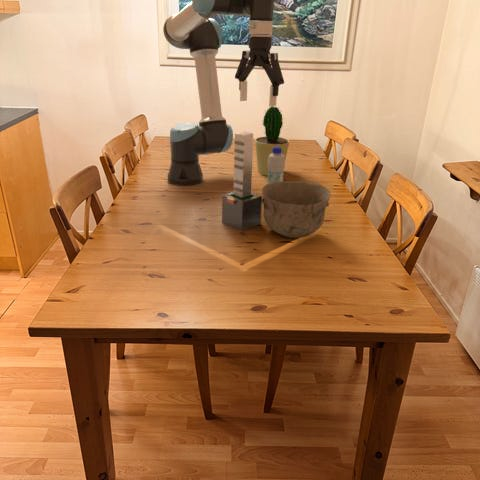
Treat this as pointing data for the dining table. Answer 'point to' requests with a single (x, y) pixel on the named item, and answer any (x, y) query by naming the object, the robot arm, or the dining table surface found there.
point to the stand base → (241, 211)
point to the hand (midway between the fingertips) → (257, 103)
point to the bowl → (295, 207)
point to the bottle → (276, 166)
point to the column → (243, 165)
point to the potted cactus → (270, 139)
